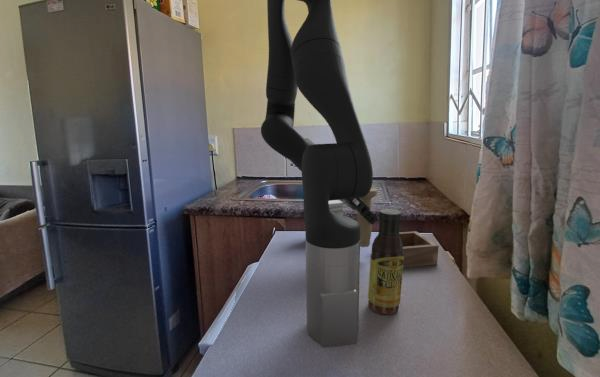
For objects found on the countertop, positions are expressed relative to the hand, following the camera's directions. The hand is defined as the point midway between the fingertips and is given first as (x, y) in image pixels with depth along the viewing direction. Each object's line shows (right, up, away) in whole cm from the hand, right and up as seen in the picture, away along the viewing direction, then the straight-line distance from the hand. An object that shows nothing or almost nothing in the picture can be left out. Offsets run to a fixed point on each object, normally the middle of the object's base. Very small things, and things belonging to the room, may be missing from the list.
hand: (371, 219), depth 89 cm
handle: (-2, -7, +1) cm, 7 cm away
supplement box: (-10, -8, +17) cm, 21 cm away
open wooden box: (+10, -10, +3) cm, 15 cm away
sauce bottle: (-2, -16, -21) cm, 26 cm away
